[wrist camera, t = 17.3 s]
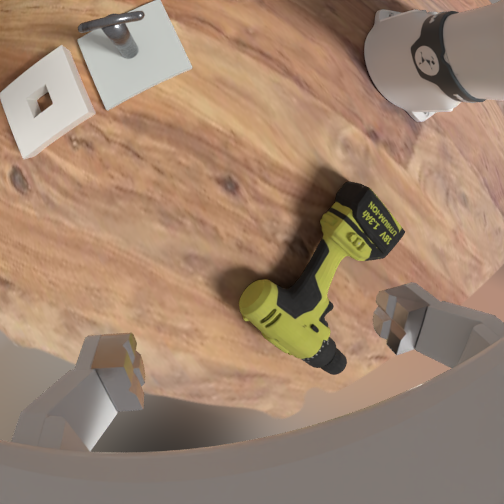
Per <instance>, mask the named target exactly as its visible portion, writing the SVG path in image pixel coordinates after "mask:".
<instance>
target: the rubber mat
mask: <svg viewBox="0 0 504 504" xmlns="http://www.w3.org/2000/svg"><path fill="white" fill-rule="evenodd" d="M134 11H143V12H144V14H145V16H144V18H143V19H142V20H140V21H135V22H129V23H125V24H126V26H127V28H128V30H129V31H130V33H131V35H132V37H133V39H134V41H135V43H136V45H137V46H138V53H137V55H136V56H135V57H133V58H131V59H127V58H124V57H123V55H122V54H121V53H120V52H119V50H118V49H117V48H116V47H115V45H114V44H113V43H112V42H111V40H110V39H109V38H108V37H107V35H106V34H105V33H104V32H103V30H102V29H101V28H100V29H96V30H93V31H91V32H90V33H88V34H86V35H84V36H83V37H81V38H79V39H78V40H77V41H78V44H79V46H80V49H81V51H82V54H83V56H84V59H85V61H86V64H87V66H88V69H89V71H90V73H91V76H92V78H93V80H94V83H95V85H96V87H97V90H98V92H99V94H100V97H101V99H102V101H103V103H104V106H105V108H106V110H110V109H112V108H114V107H115V106H117V105H119V104H121V103H122V102H124V101H126V100H128V99H130V98H132V97H133V96H135V95H137V94H139V93H141V92H143V91H145V90H147V89H149V88H151V87H153V86H155V85H157V84H159V83H161V82H163V81H166V80H168V79H170V78H172V77H174V76H177V75H179V74H181V73H184V72H186V71H188V70H191V69H192V65H191V63H190V61H189V59H188V57H187V55H186V53H185V50H184V48H183V46H182V44H181V42H180V40H179V38H178V36H177V34H176V32H175V29H174V27H173V25H172V23H171V21H170V19H169V17H168V15H167V13H166V11H165V9H164V7H163V5H162V3H161V0H155V1H153V2H150V3H148V4H145V5H143V6H141V7H139V8H136V9H134V10H132V11H130V12H134Z"/></svg>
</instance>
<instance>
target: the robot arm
mask: <svg viewBox="0 0 504 504" xmlns="http://www.w3.org/2000/svg"><path fill="white" fill-rule="evenodd" d="M364 55H365V62H366V66H367V69H368V72H369V75H370V77H371V79H372V81H373V83H374V84H375V86H376V87H377V89H378V90H379V91H380V93H381V94H382V95H383V96H384V97H385V98H386V99H387V100H388V101H390V102H391V103H393V104H394V105H396V106H398V107H400V108H402V109H404V110H406V111H407V112H408V114H409V115H410V116H411V117H412V118H413V119H414V120H415V121H417V122H423V121H425V120H426V119H428V118H429V117H430V116H432V115H433V114H435V113H436V112H450V111H453V108H455V107H456V106H458V105H459V104H460V103H461V102H466V103H476V102H483V101H485V100H487V99H489V100H501V101H504V0H500V1H498V2H496V3H494V4H491V5H487V6H484V7H480V8H476V9H473V10H468V11H464V12H460V13H459V12H455V11H449V12H440V13H437V12H426V10H411V11H407V12H404V13H401V12H396V11H391V10H385V9H382V10H378V11H377V12H376V15H375V24H374V26H373V28H372V29H371V30H370V32H369V33H368V35H367V38H366V41H365V47H364ZM423 112H424V113H423ZM376 303H377V305H378V307H377V309H376V310H375V311H374V314H373V326H374V329H375V331H376V333H377V334H378V335H379V336H380V337H382V338H384V339H387V345H388V346H389V348H390V349H391V350H392V351H393V352H394V353H395V354H396V355H399V354H402V353H405V352H408V351H410V350H413V349H415V350H416V351H418V352H420V353H422V354H424V355H426V356H428V357H430V358H432V359H434V360H436V361H438V362H440V363H442V364H444V365H446V366H448V367H451V369H450V370H448V371H446V372H444V373H442V374H440V375H438V376H436V377H434V378H432V379H431V380H428V381H426V382H424V383H422V384H420V385H418V386H416V387H414V388H412V389H409V390H407V391H405V392H403V393H400V394H398V395H396V396H394V397H391V398H389V399H387V400H384V401H381V402H379V403H376V404H374V405H372V406H369V407H366V408H364V409H361V410H358V411H355V412H352V413H349V414H347V415H344V416H341V417H338V418H335V419H331V420H328V421H325V422H322V423H318V424H315V425H312V426H308V427H305V428H301V429H297V430H293V431H290V432H285V433H282V434H277V435H272V436H268V437H263V438H259V439H254V440H249V441H244V442H237V443H232V444H225V445H219V446H212V447H204V448H195V449H186V450H174V451H161V452H134V453H113V452H111V453H110V452H90V451H91V449H92V448H93V447H94V445H95V444H96V442H97V441H98V440H99V438H100V437H101V435H102V434H103V433H104V431H105V430H106V428H107V427H108V426H109V424H110V423H111V421H112V420H113V418H114V417H115V416H116V414H117V411H132V410H143V404H144V392H143V389H142V387H141V386H142V385H143V384H144V383H145V370H144V364H143V360H142V357H141V354H139V353H138V352H137V351H136V345H137V343H136V340H135V337H134V335H133V334H132V333H119V334H104V335H91V336H87V337H86V338H85V340H84V343H83V346H82V348H81V351H80V354H79V357H78V360H77V363H76V366H75V369H74V370H70V371H68V372H67V373H66V374H65V375H64V376H63V377H61V378H60V379H59V380H58V381H57V382H55V383H54V384H53V385H52V386H51V387H49V388H48V389H47V390H46V391H45V392H44V393H42V394H41V395H40V396H39V397H38V398H37V399H36V400H34V401H33V402H32V403H31V404H30V405H29V406H27V407H26V408H25V409H24V410H23V411H22V412H21V414H20V417H19V420H18V423H17V426H16V429H15V432H14V435H13V438H12V441H11V442H9V441H4V440H0V504H504V322H502V321H501V320H500V319H498V318H497V317H496V316H495V315H492V314H488V313H484V312H481V311H477V310H473V309H470V308H467V307H463V306H459V305H456V304H452V303H449V302H445V301H442V302H440V301H439V300H437V299H436V298H435V297H434V296H432V295H431V294H430V293H428V292H427V291H426V290H424V289H423V288H422V287H420V286H419V285H418V284H416V283H413V282H411V283H407V284H404V285H401V286H398V287H394V288H390V289H386V290H382V291H379V293H378V295H377V298H376Z"/></svg>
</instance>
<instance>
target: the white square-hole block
mask: <svg viewBox="0 0 504 504" xmlns="http://www.w3.org/2000/svg"><path fill="white" fill-rule="evenodd" d="M47 92H49V94H50V97H51V100H52V102H53V104H52V105H51V106H50V107H48V108H47V109H46V110H44V111H43V112H41V110H40V107H39V105H38V102H37V100H38V99H39V98H40V97H42V96H43V95H44V94H46V93H47ZM0 99H1V102H2V105H3V108H4V111H5V114H6V117H7V119H8V122H9V125H10V128H11V130H12V133H13V135H14V138H15V140H16V143H17V145H18V148H19V150H20V152H21V155H22V157H23V159H26V158H31V157H34V156H36V155H37V154H38V153H40V152H41V151H42V150H43V149H45V148H46V147H47V146H49V145H50V144H51V143H53V142H54V141H56V140H57V139H58V138H60V137H61V136H63V135H64V134H65V133H67V132H68V131H70V130H71V129H73V128H74V127H76V126H77V125H79V124H80V123H82V122H83V121H85V120H86V119H88V118H90V117H91V116H93V115H94V114H96V113H95V110H94V108H93V106H92V103H91V101H90V99H89V97H88V94H87V92H86V90H85V87H84V85H83V82H82V80H81V78H80V75H79V73H78V70H77V68H76V65H75V63H74V60H73V58H72V55H71V52H70V50H68V49H67V48H65V47H64V46H62V45H61V46H59V47H58V48H56V49H55V50H54V51H52V52H51V53H49V54H48V55H46V56H45V57H44V58H42V59H41V60H40V61H38V62H37V63H36V64H34V65H33V66H32V67H30V68H29V69H28V70H27V71H25V72H24V73H23V74H22V75H20V76H19V77H18V78H17V79H15V80H14V81H13V82H12V83H11V84H10V85H8V86H7V87H6V88H5V89H4V90H3V91H2V92H1V93H0Z"/></svg>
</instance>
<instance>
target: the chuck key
mask: <svg viewBox="0 0 504 504" xmlns="http://www.w3.org/2000/svg"><path fill="white" fill-rule="evenodd" d="M144 16H145V14H144V12H143V11H134V12H128V13H123V14H110V15H108V16H107V17H104V18H100V19H96V20H92V21H88V22H84V23H81V24H80V25H79V27H78V31H79V32H80V33H85V32H88V31H92V30H96V29H100V28H101V29H102V30H103V32H104V33H105V34H106V35H107V37H108V38H109V39H110V40H111V42H112V43H113V44H114V45H115V47H116V48H117V49H118V50H119V52H120V53H121V54H122V55H123V57H124V58H127V59H131V58H133V57H135V56H136V55H137V53H138V46H137V45H136V43H135V41H134V39H133V37H132V35H131V33H130V31H129V30H128V28H127V26H126V24H125V23H129V22H135V21H140V20H142V19H143V18H144Z"/></svg>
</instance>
